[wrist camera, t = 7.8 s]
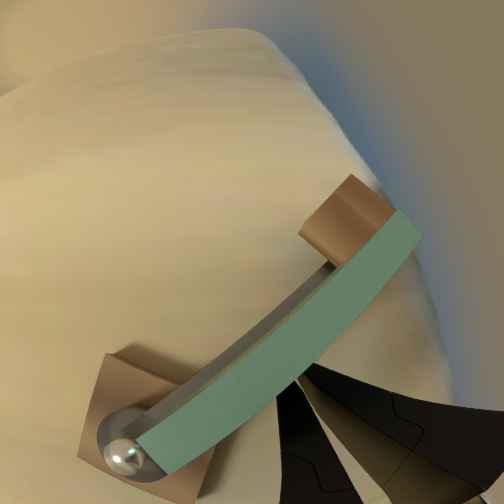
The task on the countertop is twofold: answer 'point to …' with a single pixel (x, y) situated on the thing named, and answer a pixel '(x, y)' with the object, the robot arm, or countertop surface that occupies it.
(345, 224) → the block
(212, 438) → the link
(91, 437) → the pintle block
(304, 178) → the countertop surface
